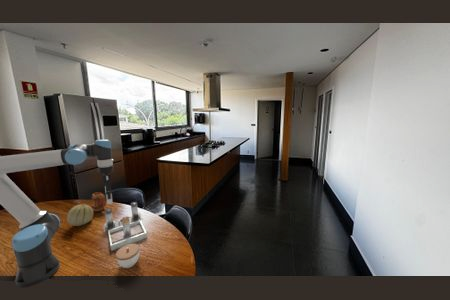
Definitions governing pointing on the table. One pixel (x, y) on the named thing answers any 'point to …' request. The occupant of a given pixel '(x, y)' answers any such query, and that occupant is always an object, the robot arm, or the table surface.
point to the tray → (129, 239)
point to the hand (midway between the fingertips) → (109, 199)
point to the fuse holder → (119, 223)
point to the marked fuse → (126, 226)
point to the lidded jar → (128, 255)
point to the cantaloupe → (80, 215)
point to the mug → (98, 201)
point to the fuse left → (109, 217)
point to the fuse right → (134, 210)
